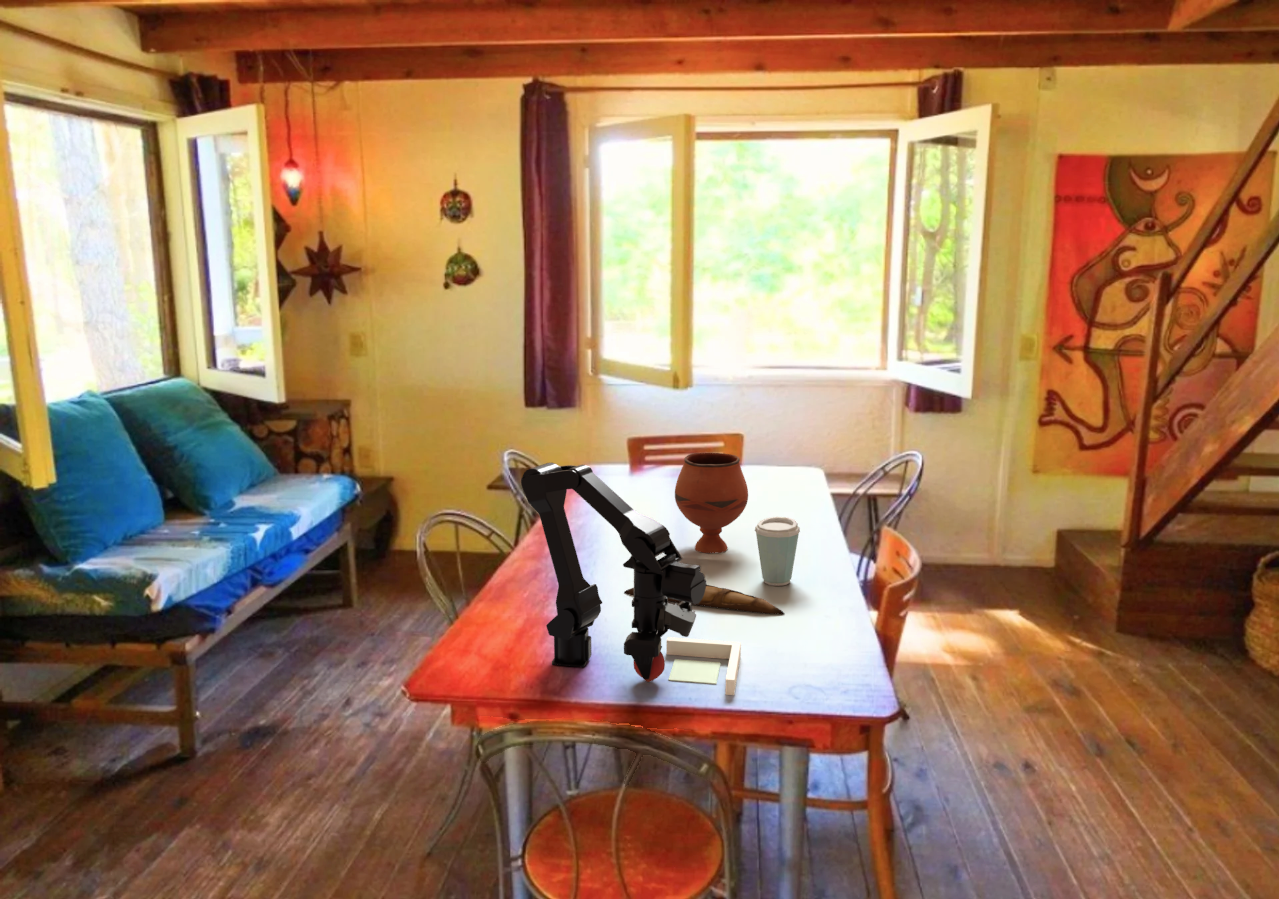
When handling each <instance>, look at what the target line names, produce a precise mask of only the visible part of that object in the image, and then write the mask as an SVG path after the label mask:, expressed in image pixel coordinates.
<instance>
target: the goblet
mask: <svg viewBox="0 0 1279 899" xmlns="http://www.w3.org/2000/svg"><path fill="white" fill-rule="evenodd" d="M740 461H741V459H740V457H739V456H737V455H734V454H729V453H722V452H695V453H694V452H692V453H690V454H688V455H686V456H685V457H684V459H683V464H682V467H681V470H680V472H679V474H678V477H677V481H676V483H675V488H674V500H675V503H676V506H677V508H678V510H679V512H681V514H682V515H683V516H684V517H685V518H686V520H688V521H689V522H690V523H692V524H694V525H695V526H698V527H699V531H700V532H701V533H702V535H701V537H700V538H699V539H698V540H697V541H696V543H695V545H694V550H695V551H696V552H700V553H704V554H719V553H720V554H721V553H724V552H726V551H727V550H728V545H727V543H726V541H725V540H723V538H722V537H721V536H720V534H721V533H722V531H723V528H724V527H727V526H729V525H731V523H733V522H734V521H735V520H737V519H738V518H739V517H740V516H741V514H742V513H744V511H745V509H746V507H747V503H748V500H749V490H748V485H747V481H746V479H745V475H744V474H743V473H744V472H743V471H742V468H741V463H740Z"/></svg>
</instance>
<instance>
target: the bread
mask: <svg viewBox="0 0 1279 899" xmlns="http://www.w3.org/2000/svg"><path fill="white" fill-rule="evenodd" d="M624 593H625V594H627V595H631V596H634V587H631V588H629V589H627V590H624ZM668 602H670V603H676V604H679V603H680V602H682V601H679V600H675V599H671V598H668ZM691 604H692V605H693V606H699V607H706V608H713V609H723V610H731V611H736V612H738V611H739V612H747V613H754V614H755V613H756V614H763V613H765V614H767V615H785V612H784V611H783V610H782V609H780V608H778V607H777V606H775V605H774V604H772V603H770V602H769V601H767V600H766V599H765V598H760V597H757V596H754V595H751V594H745V593H743V592H740V591H737V590H732V589H730V588H727V587H725V588H724V587H718V586H715V585H709V584H706V589H705V593H704V596H703V598H702V600H701V601H700V602H699V603H698V604H693V603H691Z"/></svg>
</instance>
